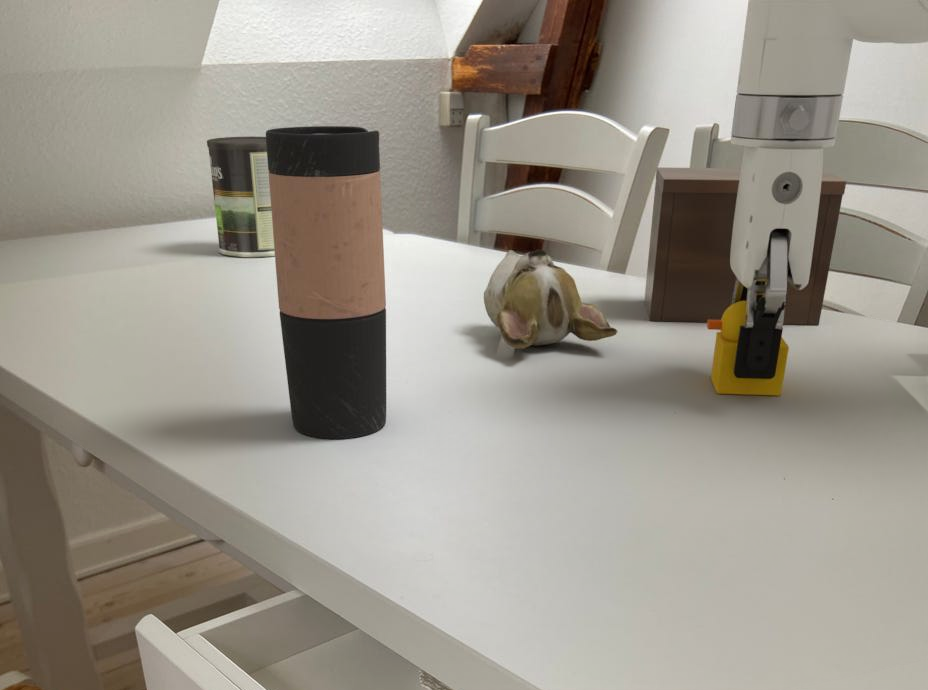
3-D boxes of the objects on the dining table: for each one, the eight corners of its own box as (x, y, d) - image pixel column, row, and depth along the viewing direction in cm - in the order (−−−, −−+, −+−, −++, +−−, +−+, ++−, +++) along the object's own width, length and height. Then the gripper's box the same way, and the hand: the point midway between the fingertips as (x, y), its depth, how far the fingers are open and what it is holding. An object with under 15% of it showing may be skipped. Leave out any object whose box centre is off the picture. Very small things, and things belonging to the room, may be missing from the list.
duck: (772, 380, 86) (786, 296, 82) (780, 396, 82) (795, 308, 79) (697, 378, 86) (708, 294, 83) (702, 393, 83) (714, 306, 79)
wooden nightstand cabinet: (644, 299, 113) (656, 167, 107) (799, 302, 112) (822, 168, 105) (649, 322, 104) (663, 179, 97) (819, 326, 102) (846, 181, 95)
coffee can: (221, 259, 135) (208, 143, 128) (217, 246, 144) (205, 137, 136) (297, 256, 137) (288, 141, 130) (289, 243, 146) (281, 135, 139)
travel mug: (270, 432, 74) (241, 132, 64) (319, 403, 81) (299, 124, 70) (362, 445, 72) (347, 135, 62) (406, 414, 78) (398, 127, 68)
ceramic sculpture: (559, 229, 100) (630, 266, 88) (553, 317, 105) (620, 362, 93) (459, 237, 97) (519, 275, 85) (458, 326, 102) (514, 374, 90)
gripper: (865, 131, 66) (814, 399, 76) (813, 116, 81) (776, 341, 90) (749, 131, 67) (713, 396, 76) (719, 115, 82) (692, 339, 91)
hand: (748, 364), depth 83 cm, fingers open, 5 cm apart
